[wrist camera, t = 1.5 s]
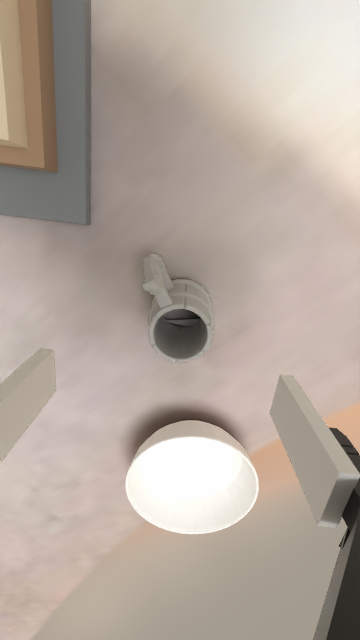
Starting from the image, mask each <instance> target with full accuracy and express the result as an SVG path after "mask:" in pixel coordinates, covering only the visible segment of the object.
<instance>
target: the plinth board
mask: <svg viewBox="0 0 360 640" xmlns="http://www.w3.org/2000/svg"><path fill="white" fill-rule="evenodd" d="M0 214H1V215H9V216H17V217H26V218H34V219H42V220H50V221H59V222H67V223H75V224H84V225H90V0H0Z"/></svg>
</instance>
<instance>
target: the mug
mask: <svg viewBox="0 0 360 640" xmlns="http://www.w3.org/2000/svg"><path fill="white" fill-rule="evenodd" d="M143 264H144V269H143V271H144V280H145V282H144V284H143V286H142V287H143V289H144V290H145V291H148V292H149V293H150V294H151V295H154V298H153V301H152V303H151V312H150V315H149V316H148V325H149V332H148V335H149V341H150V344H151V345H152V348H153V349H154V350H155V351H156V352H157V353H158V354H159V355H160V356H161V357H163V358H164V359H166V360H168V361H171V362H174V363H176V361H177V363H186V362H187V361H189V360H195V359H197V358H199V357H201V356H202V355H203V354H204V353H205V352H206V351H207V350H208V348H209V347H210V344H211V342H212V337H213V330H214V319H213V312H212V310H213V308H212V301H211V298H210V296H209V294H208V292H207V291H206V290H205V289H204V287H203V286H202V285H200V284H198V283H197V282H194V281H192V280H188V279H176V280H171V279H170V277H169V274H168V272H167V269H166V266H165V263H164V261H163V259H162V257H161V256H160V255H158V254H155V253H151V254H149V255H148V256H147V257H145V259H144V260H143ZM175 309H186V310H189V311H192V312H194V313H196V314H197V315H198V316H200V317H201V318H200V319H185V320H165V318H164V317H163V314H165V313H167V312H169V311H171V310H175ZM169 322H171V323H175V324H180V325H184V326H186V327H181V326H180V327H179V326H175V325H172V324H170V323H169Z"/></svg>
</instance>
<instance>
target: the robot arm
mask: <svg viewBox="0 0 360 640" xmlns="http://www.w3.org/2000/svg"><path fill="white" fill-rule="evenodd" d="M55 391H56V379H55V361H54V350H50V349H41V348H40V349H39V350H38V351H37V352H36V353H35V354H34V355H33V356H31V357H30V358H29V359H28V360H27V361H26V362H25V363H23V364H22V365H21V366H20V367H19V368H18V369H17V370H16V371H14V372H13V373H12V374H11V375H10V376H9V377H8V378H6V379H5V380H4V381H3V382H2V383H1V384H0V463H1V462H2V461H3V459H4V458H5V457H6V455H7V454H8V453H9V452H10V450H11V449H12V448H13V446H14V445H15V444H16V442H17V441H18V440H19V438H20V437H21V436H22V435H23V433H24V432H25V431H26V429H27V428H28V427H29V425H30V424H31V423H32V421H33V420H34V419H35V418H36V416H37V415H38V414H39V412H40V411H41V410H42V408H43V407H44V406H45V404H46V403H47V402H48V401H49V399H50V398H51V397H52V395H53V394H54V393H55ZM270 415H271V417H272V420H273V422H274V424H275V427H276V429H277V431H278V434H279V436H280V438H281V441H282V443H283V445H284V447H285V450H286V452H287V455H288V457H289V459H290V462H291V464H292V466H293V469H294V471H295V473H296V476H297V478H298V480H299V483H300V485H301V487H302V490H303V492H304V494H305V497H306V499H307V501H308V504H309V506H310V508H311V511H312V513H313V516H314V518H315V520H316V522H317V525H318V526H328V527H338V525H339V522H340V520H341V518H342V517H343V519H344V521H345V523H346V525H347V526H348V528H347V530H346V532H345V535H344V536H343V539H342V541H341V543H340V545H339V547H341V548H340V552H339V555H338V558H337V562H336V565H335V568H334V572H333V575H332V578H331V582H330V585H329V588H328V592H327V595H326V598H325V602H324V605H323V609H322V612H321V615H320V619H319V622H318V625H317V628H316V632H315V635H314V638H313V640H360V455H359V453H358V452H357V450H356V449H355V448H354V447H353V445H352V443H351V442H350V441H349V440H348V438H347V437H346V436H345V435H344V434H343V433H342V432H340V431H339V430H338V429H337V428H328V426H327V425H326V423H325V422H324V420H323V419H322V417H321V416H320V414H319V413H318V411H317V410H316V409H315V407H314V406H313V404H312V403H311V401H310V400H309V398H308V397H307V395H306V394H305V392H304V391H303V389H302V388H301V386H300V385H299V384H298V382H297V381H296V379H295V378H294V376H292V375H283V374H280V376H279V380H278V384H277V388H276V391H275V395H274V399H273V402H272V406H271V410H270Z"/></svg>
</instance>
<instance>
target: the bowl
mask: <svg viewBox="0 0 360 640" xmlns="http://www.w3.org/2000/svg"><path fill="white" fill-rule="evenodd" d="M258 489H259V486H258V477H257V474H256V471H255V468H254V466H253V464H252V462H251V460H250V458H249V456H248V454H247V453H246V451H245V450H244V448H243V447H242V445H241V444H240V443H239V442H238V441H237V440H236V439H235V438H233V437H232V436H231V435H230V434H229V433H228V432H226V431H224V430H223V429H221V428H220V427H217V426H215V425H212V424H210V423H206V422H202V421H195V420H187V421H179V422H176V423H172V424H169V425H167V426H165V427H163V428H160V429H159V430H158V431H156V432H155V433H153V434H152V435H151V436H150V437H149V438H148V439H147V440H146V441H145V442H144V443H143V444H142V445H141V446H140V447H139V449H138V451H137V453H136V455H135V457H134V459H133V461H132V463H131V465H130V467H129V469H128V472H127V476H126V492H127V496H128V499H129V501H130V503H131V504H132V506H133V508H134V509H135V510H136V511H137V512H138V513H139V515H140V516H142V517H143V518H144V519H146V520H147V521H148V522H150V523H152V524H154V525H156V526H157V527H160V528H163V529H165V530H168V531H172V532H178V533H183V534H203V533H209V532H214V531H218V530H221V529H224V528H226V527H229V526H230V525H232V524H234V523H236V522H238V521H239V520H240V519H241V518H243V517H244V516H245V515H246V514H247V513H248V511H249V510H250V509H251V508H252V507H253V505H254V503H255V501H256V499H257V494H258Z"/></svg>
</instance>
